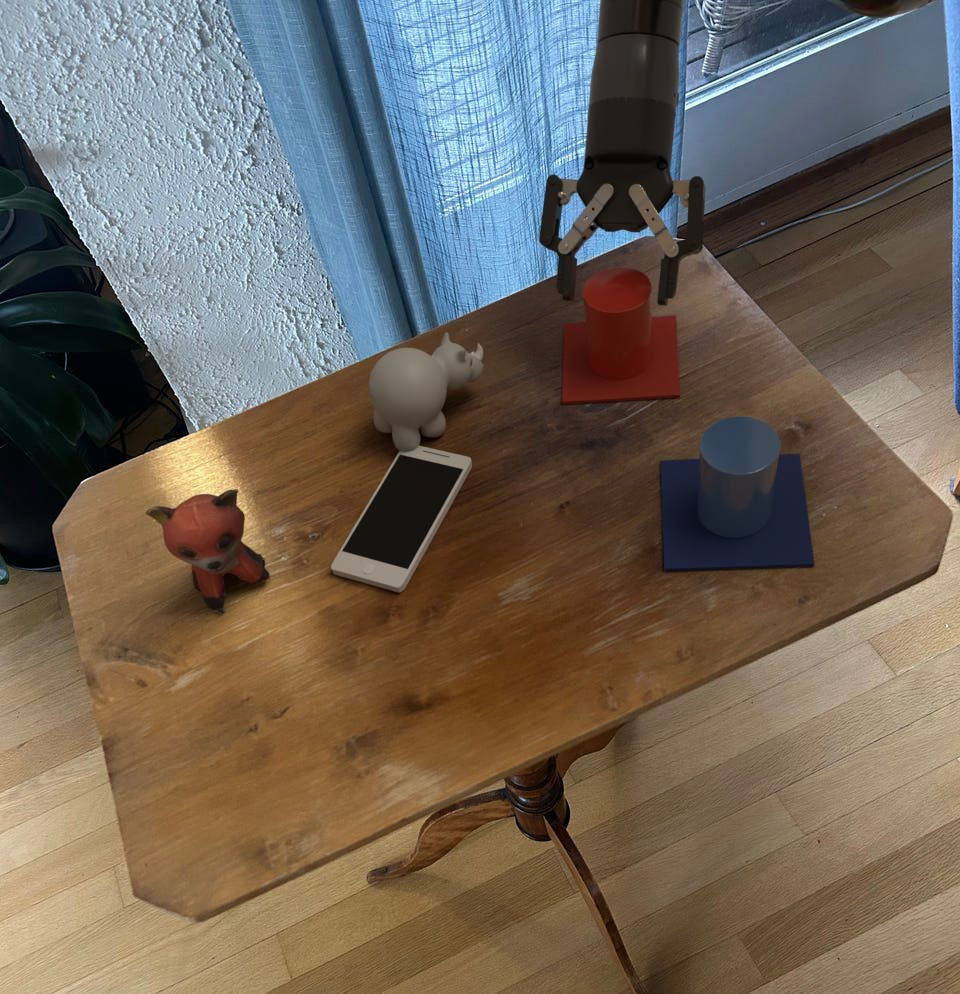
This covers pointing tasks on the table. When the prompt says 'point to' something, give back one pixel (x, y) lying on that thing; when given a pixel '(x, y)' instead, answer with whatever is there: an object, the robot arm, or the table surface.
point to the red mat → (649, 384)
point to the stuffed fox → (210, 543)
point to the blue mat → (704, 550)
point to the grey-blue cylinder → (737, 476)
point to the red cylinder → (618, 322)
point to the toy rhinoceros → (419, 389)
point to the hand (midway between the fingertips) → (614, 302)
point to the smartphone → (402, 518)
